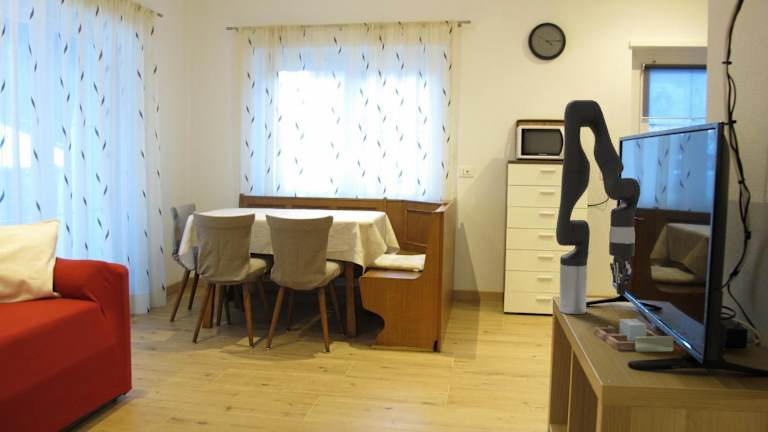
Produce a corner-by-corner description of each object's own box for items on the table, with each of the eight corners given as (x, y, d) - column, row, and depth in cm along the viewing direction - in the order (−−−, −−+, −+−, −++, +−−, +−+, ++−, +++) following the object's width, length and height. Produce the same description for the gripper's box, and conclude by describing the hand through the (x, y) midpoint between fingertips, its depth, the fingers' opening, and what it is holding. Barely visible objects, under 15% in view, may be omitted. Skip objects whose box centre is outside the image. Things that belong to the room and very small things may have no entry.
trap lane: (592, 332, 187) (592, 319, 187) (640, 331, 188) (640, 319, 188) (619, 351, 167) (619, 338, 167) (673, 351, 168) (673, 337, 168)
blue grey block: (619, 334, 185) (619, 319, 185) (635, 334, 185) (635, 318, 185) (629, 341, 178) (630, 324, 178) (646, 340, 178) (646, 324, 178)
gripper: (602, 238, 195) (601, 290, 196) (618, 243, 182) (617, 299, 183) (624, 238, 195) (623, 290, 196) (643, 242, 182) (641, 298, 183)
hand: (620, 294), depth 190 cm, fingers closed
